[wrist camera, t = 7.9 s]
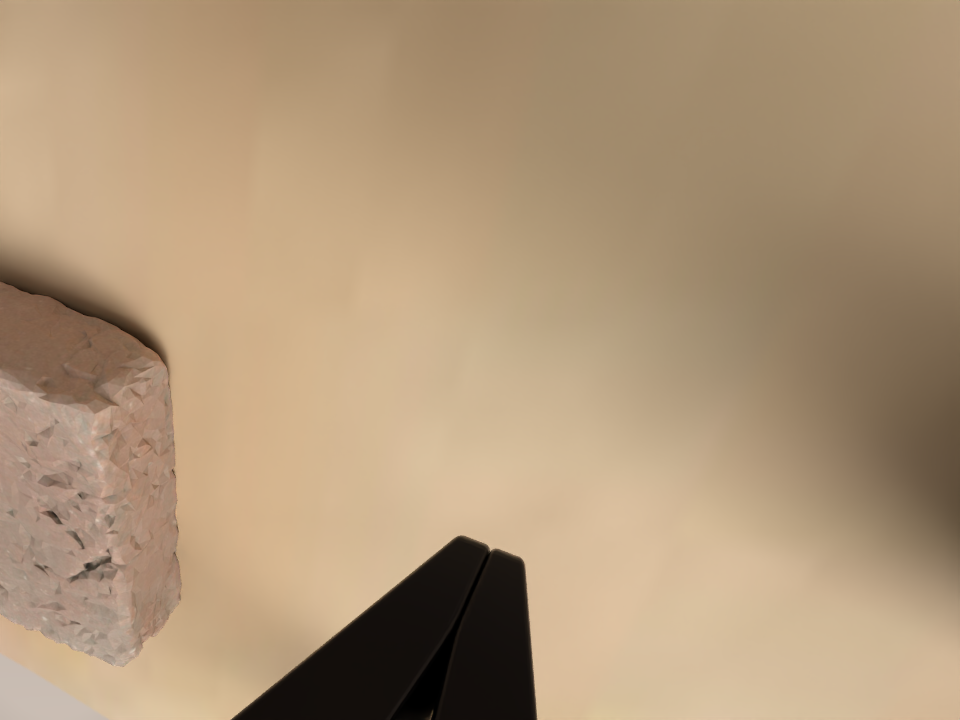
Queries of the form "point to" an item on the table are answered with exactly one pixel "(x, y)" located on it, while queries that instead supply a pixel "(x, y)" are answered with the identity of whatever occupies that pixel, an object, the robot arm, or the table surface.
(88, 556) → the brick
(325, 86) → the table surface
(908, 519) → the table surface
